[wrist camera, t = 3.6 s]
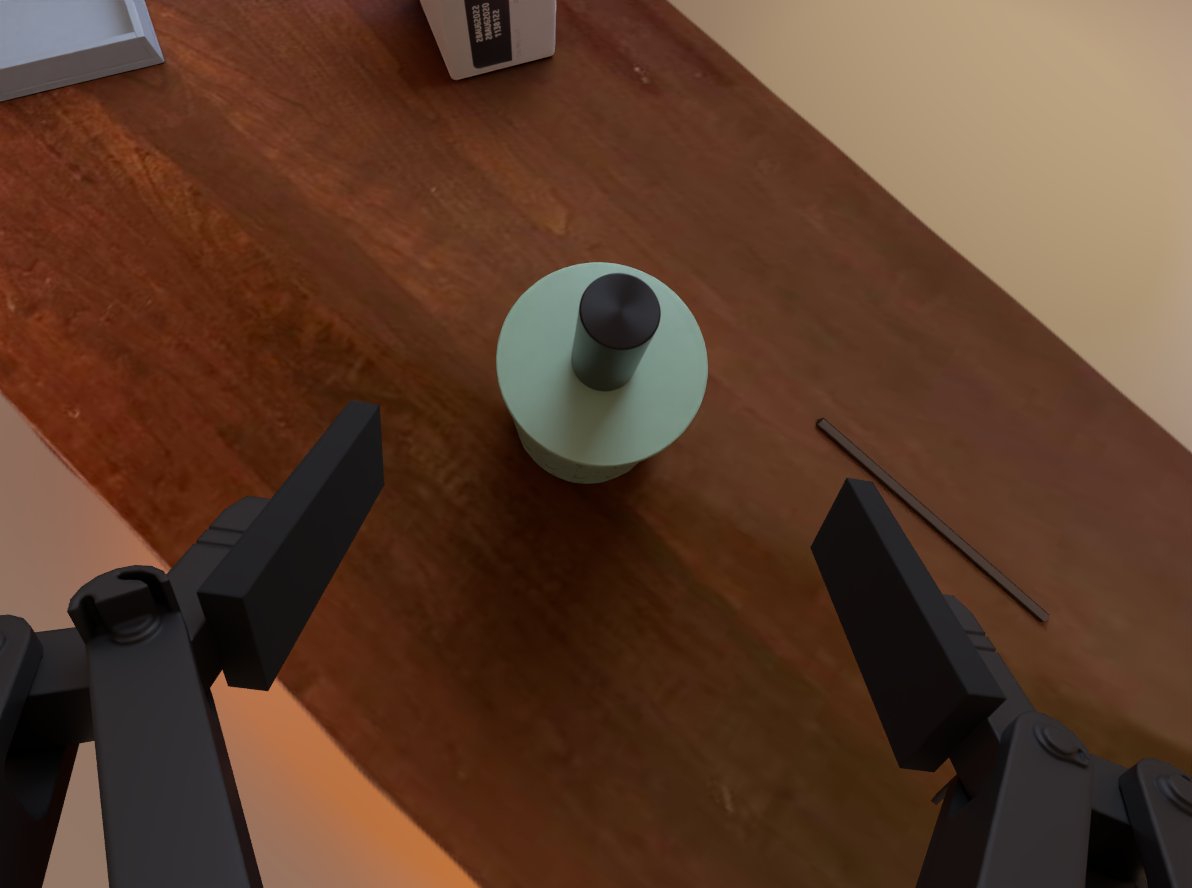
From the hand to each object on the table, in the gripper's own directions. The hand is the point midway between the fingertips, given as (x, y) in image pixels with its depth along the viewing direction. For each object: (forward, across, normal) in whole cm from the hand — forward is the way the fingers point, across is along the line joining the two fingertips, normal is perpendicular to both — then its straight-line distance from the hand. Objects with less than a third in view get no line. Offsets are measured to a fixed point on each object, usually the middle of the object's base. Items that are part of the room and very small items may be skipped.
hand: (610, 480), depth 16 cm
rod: (+16, +23, -11) cm, 30 cm away
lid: (+11, 0, -2) cm, 11 cm away
